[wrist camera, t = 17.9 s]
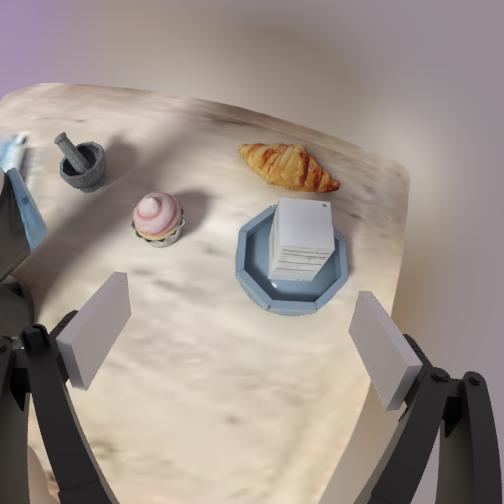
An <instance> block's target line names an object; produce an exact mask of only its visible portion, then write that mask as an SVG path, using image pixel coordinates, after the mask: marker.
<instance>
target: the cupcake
mask: <svg viewBox="0 0 504 504" xmlns="http://www.w3.org/2000/svg"><path fill="white" fill-rule="evenodd" d="M185 211H186V210H185V209H184V208H183V207H181V206H180V201H179V199H175V198H174V197H173V196H172V195H170V194H167V193H161V192H155V193H150V194H148V195H146V196H145V197H144V198H143V199H142V200H141V201H140V202H139V203H138V204H137V206H136V207H135V209H134V211H133V212H132V216H133V221H132V222H131V227H132V228H133V229H135V235H136V237H138V238H141V239H144V240H145V242H146V243H149V244H151V245H152V246H155V247H160V248H162V247H167V246H169V245H171V244H173V243H174V242H175V241H176V240H177V239H178V237H179V235H180V231H181V227H182V226H183V225H184V224H185V221H184V219H183V216H184V214H185Z"/></svg>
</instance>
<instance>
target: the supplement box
mask: <svg viewBox="0 0 504 504" xmlns="http://www.w3.org/2000/svg"><path fill="white" fill-rule="evenodd" d="M334 250H335V242H334V231H333V221H332V211H331V202H325V201H317V200H307V199H296V198H285V197H279V201H278V204H277V208H276V212H275V216H274V220H273V224H272V228H271V232H270V236H269V264H268V279H274V280H291V281H312V280H313V278H314V277H315V276H316V274H317V273H318V272H319V271H320V269H321V268H322V267H323V265H324V264H325V262H326V261H327V260H328V258H329V257H330V256H331V254H332V253H333V252H334Z"/></svg>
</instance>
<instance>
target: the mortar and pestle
mask: <svg viewBox="0 0 504 504" xmlns="http://www.w3.org/2000/svg"><path fill="white" fill-rule="evenodd" d="M54 143H55V144H57V145H58V146H59V147H60V149H61V150H62V152H63V153H64V155H65V157H64V158H63V160H62V161H61V163H60V175H61V177H62V178H63V179H64V180H65V181H66V182H67V183H68V184H70V185H71V186H72V187H74V188H77V189H80V190H81V191H83V192H84V193H90V192H94V191H95V190H97V189H98V188H100V187H101V186H102V184H103V182H104V180H105V175H104V171H105V168H106V162H105V155H104V150H103V148H102V146H101V145H99V144H97V143H95V142H87V143H82V144H79V145H77V146H76V147H75V146H74V145H73V144H72V143H71V141H70V140H69V139H68V138H67V137H66V133H65V132H63V133H61V134H60V135H58V136H57V137H56V139H55V140H54Z"/></svg>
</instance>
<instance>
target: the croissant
mask: <svg viewBox="0 0 504 504" xmlns="http://www.w3.org/2000/svg"><path fill="white" fill-rule="evenodd" d="M239 152H240V154H241V155H242V157H243V158H244V159H245V160H246V162H247V164H248V165H249V166H250V167H251V168H252V169H253V170H254V171H255V172H256V173H257V174H258V175H260V176H261V177H263V178H264V179H265V180H267V181H268V184H274V185H279V186H281V187H283V188H286V189H289V190H295V191H311V192H318V193H327V192H332V191H337V190H338V189H339V186H340V183H339V181H336V180H334V179H332V178H331V175H330V173H328V172H327V171H326V170H325V169H323V168H322V167H321V165H319V164H318V162H317V161H316V159H315V157H314V156H312V155H310V154H308V153H307V151H306V149H305V148H304V147H303V146H301V145H299V144H292V145H290V146H288V145H285V144H282V143H281V144H279V143H277V144H272V145H263V144H259V143H258V144H252V145H248V144H242V145H241V146H240V147H239Z"/></svg>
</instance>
